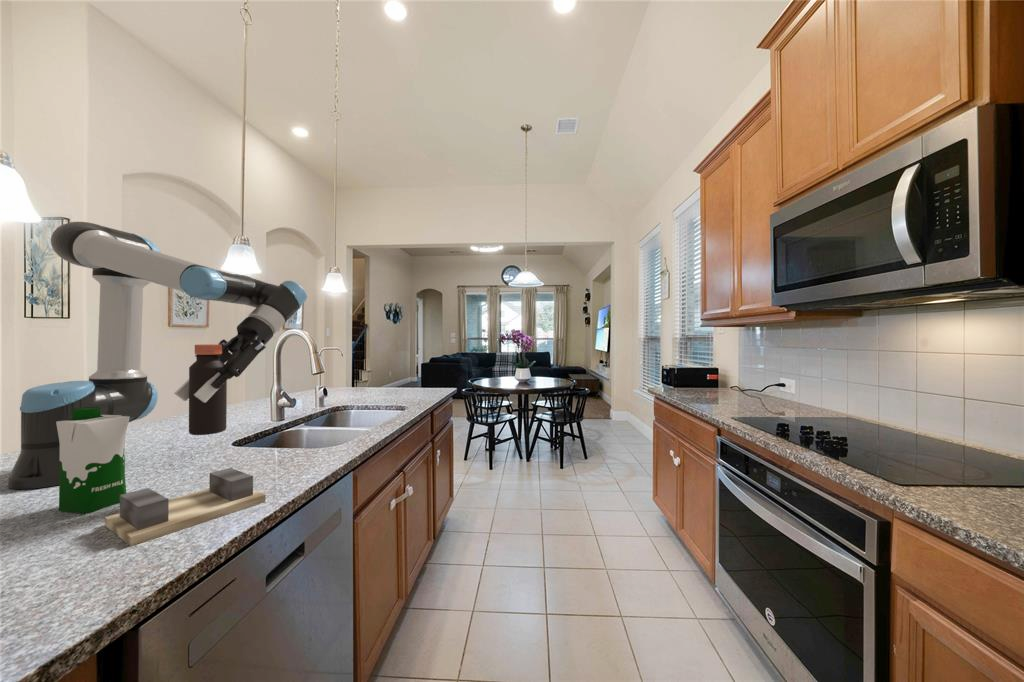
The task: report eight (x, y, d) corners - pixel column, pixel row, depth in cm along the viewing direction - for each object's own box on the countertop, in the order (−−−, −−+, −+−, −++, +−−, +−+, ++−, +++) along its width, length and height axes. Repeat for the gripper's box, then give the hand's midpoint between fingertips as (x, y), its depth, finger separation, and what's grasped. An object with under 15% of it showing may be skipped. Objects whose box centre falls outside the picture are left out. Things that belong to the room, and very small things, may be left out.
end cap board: (104, 525, 71) (104, 495, 71) (233, 488, 89) (233, 464, 89) (130, 546, 64) (130, 513, 64) (265, 501, 82) (265, 475, 82)
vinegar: (180, 435, 85) (180, 344, 85) (205, 427, 92) (206, 344, 92) (210, 436, 85) (211, 345, 85) (233, 428, 92) (234, 344, 91)
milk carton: (103, 495, 85) (104, 404, 85) (135, 498, 83) (136, 406, 83) (48, 512, 76) (49, 411, 76) (83, 517, 75) (83, 413, 75)
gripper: (296, 336, 99) (231, 410, 84) (245, 336, 106) (176, 405, 91) (277, 314, 94) (204, 389, 79) (225, 316, 101) (148, 385, 86)
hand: (189, 397), depth 85 cm, fingers closed on vinegar, 6 cm apart
